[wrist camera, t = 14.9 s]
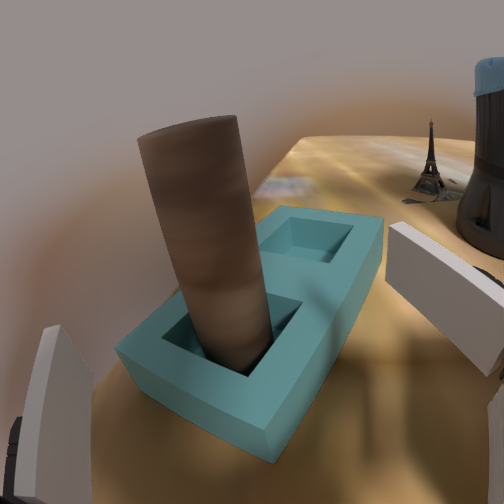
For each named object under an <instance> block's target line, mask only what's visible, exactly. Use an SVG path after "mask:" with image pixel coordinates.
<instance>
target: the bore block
mask: <svg viewBox="0 0 504 504" xmlns="http://www.w3.org/2000/svg"><path fill="white" fill-rule="evenodd" d="M255 228H256V234H257V240H258V246H259V252H260V258H261V264H262V270H263V276H264V282H265V288H266V294H267V300H268V306H269V312H270V318H271V325H272V331H273V337H274V344H273V345H272V346H271V348H270V349H269V351H268V352H267V353H266V355H265V356H264V357H263V359H262V360H261V361H260V363H259V364H258V365H257V366H256V368H255V369H254V370H253V372H252V373H251V374H250V376H249V377H246V376H244V375H241V374H239V373H236V372H234V371H232V370H229V369H227V368H225V367H222V366H220V365H218V364H215V363H213V362H211V361H209V360H206V357H205V355H204V352H203V349H202V347H201V344H200V341H199V339H198V336H197V333H196V331H195V328H194V325H193V323H192V320H191V317H190V314H189V311H188V309H187V306H186V303H185V300H184V297H183V294H182V291H181V289H180V290H179V291H178V292H177V293H176V294H175V295H173V296H172V297H171V298H170V299H169V300H168V301H167V302H165V303H164V304H163V305H162V306H161V307H160V308H158V309H157V310H156V311H155V312H154V313H153V314H152V315H150V316H149V317H148V318H147V319H146V320H145V321H144V322H142V323H141V324H140V325H139V326H138V327H137V328H135V329H134V330H133V331H132V332H131V333H130V334H129V335H127V336H126V337H125V338H124V339H123V340H122V341H121V342H119V343H118V344H117V345H116V346H115V347H114V349H115V350H116V352H117V354H118V355H119V357H120V359H121V360H122V362H123V364H124V365H125V367H126V369H127V370H128V372H129V373H130V375H131V377H132V378H133V380H134V381H135V383H136V384H137V386H138V387H139V389H140V390H141V391H142V392H144V393H145V394H147V395H148V396H150V397H151V398H153V399H154V400H156V401H157V402H159V403H160V404H162V405H163V406H165V407H167V408H168V409H170V410H171V411H173V412H175V413H176V414H178V415H180V416H181V417H183V418H185V419H186V420H188V421H190V422H191V423H193V424H195V425H196V426H198V427H200V428H202V429H204V430H205V431H207V432H209V433H211V434H213V435H214V436H216V437H218V438H220V439H222V440H224V441H226V442H228V443H230V444H232V445H234V446H236V447H238V448H240V449H242V450H244V451H246V452H248V453H250V454H252V455H254V456H256V457H258V458H260V459H263V460H265V461H267V462H269V463H272V464H275V462H276V461H277V459H278V458H279V456H280V455H281V453H282V451H283V450H284V448H285V447H286V445H287V444H288V442H289V441H290V439H291V437H292V436H293V434H294V433H295V431H296V429H297V428H298V426H299V424H300V423H301V421H302V420H303V418H304V416H305V414H306V413H307V411H308V409H309V408H310V406H311V404H312V403H313V401H314V399H315V397H316V396H317V394H318V392H319V390H320V388H321V387H322V385H323V383H324V381H325V379H326V377H327V376H328V374H329V372H330V370H331V368H332V366H333V364H334V362H335V361H336V359H337V357H338V355H339V353H340V351H341V349H342V347H343V345H344V343H345V341H346V339H347V337H348V335H349V333H350V331H351V329H352V326H353V324H354V322H355V320H356V318H357V316H358V314H359V312H360V309H361V307H362V305H363V303H364V301H365V298H366V296H367V294H368V292H369V289H370V287H371V285H372V282H373V280H374V278H375V275H376V273H377V271H378V268H379V266H380V263H381V261H382V249H383V231H384V218H380V217H373V216H365V215H358V214H350V213H342V212H334V211H326V210H317V209H308V208H299V207H290V206H279V207H277V208H276V209H275V210H274V211H273V212H271V213H270V214H269V215H268V216H267V217H265V218H264V219H263V220H262V221H261V222H259V223H258V224H257V225H256V226H255Z"/></svg>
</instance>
